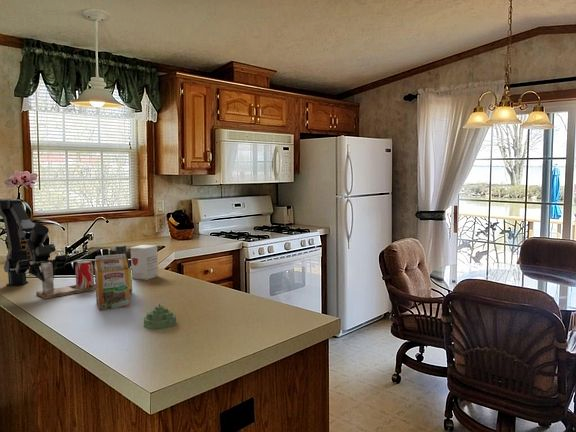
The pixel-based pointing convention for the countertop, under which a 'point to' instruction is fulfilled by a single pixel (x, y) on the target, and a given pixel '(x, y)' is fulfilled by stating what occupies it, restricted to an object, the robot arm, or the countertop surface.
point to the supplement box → (144, 262)
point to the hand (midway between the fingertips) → (48, 280)
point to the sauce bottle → (122, 250)
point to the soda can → (84, 274)
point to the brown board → (49, 285)
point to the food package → (112, 282)
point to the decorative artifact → (159, 319)
